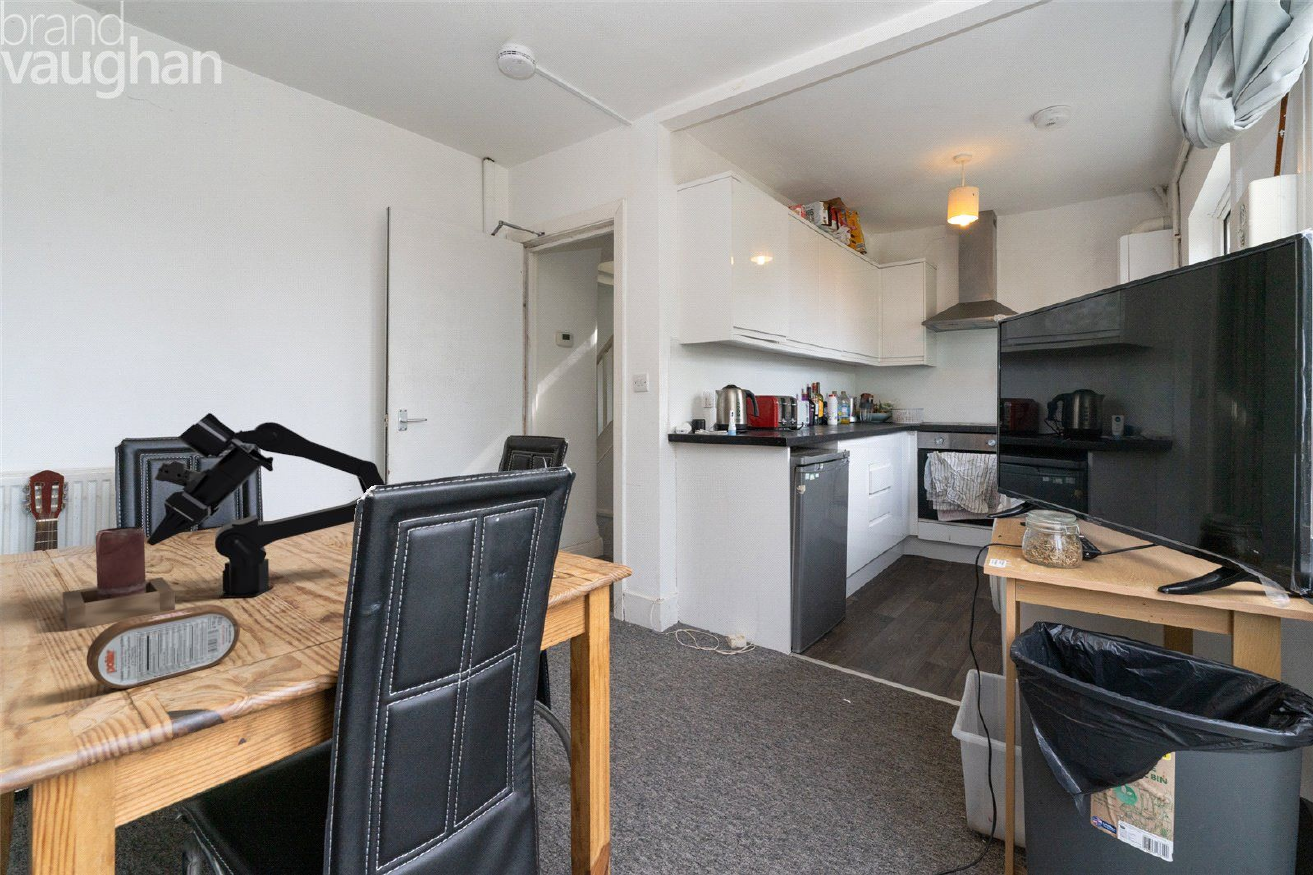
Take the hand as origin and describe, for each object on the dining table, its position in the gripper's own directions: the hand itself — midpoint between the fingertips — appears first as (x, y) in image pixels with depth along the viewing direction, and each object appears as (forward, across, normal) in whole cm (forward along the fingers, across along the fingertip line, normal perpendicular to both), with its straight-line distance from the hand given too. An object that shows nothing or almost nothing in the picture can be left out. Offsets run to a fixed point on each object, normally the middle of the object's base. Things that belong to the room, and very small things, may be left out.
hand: (155, 540), depth 101 cm
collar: (+12, 0, +4) cm, 13 cm away
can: (+11, 0, +4) cm, 12 cm away
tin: (+5, +37, +15) cm, 41 cm away
